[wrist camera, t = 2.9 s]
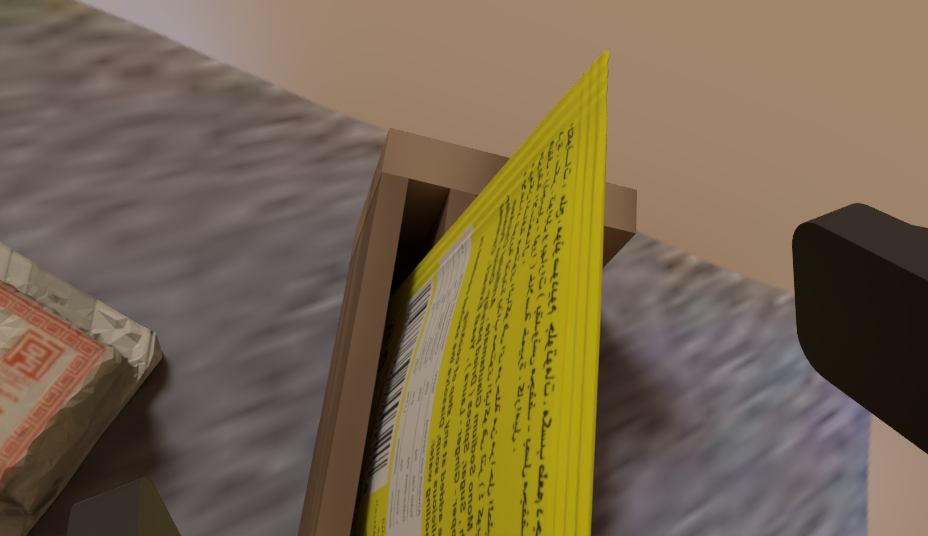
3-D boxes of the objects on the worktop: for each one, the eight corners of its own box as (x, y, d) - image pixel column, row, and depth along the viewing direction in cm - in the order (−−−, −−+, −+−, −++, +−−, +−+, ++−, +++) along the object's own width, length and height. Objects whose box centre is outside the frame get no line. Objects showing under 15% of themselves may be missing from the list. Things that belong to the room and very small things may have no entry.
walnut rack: (255, 750, 30) (272, 768, 23) (356, 227, 39) (389, 127, 32) (532, 781, 31) (626, 806, 24) (563, 274, 41) (636, 190, 34)
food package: (306, 728, 30) (602, 794, 14) (275, 724, 30) (539, 787, 13) (376, 331, 37) (626, 55, 21) (351, 324, 37) (585, 39, 20)
